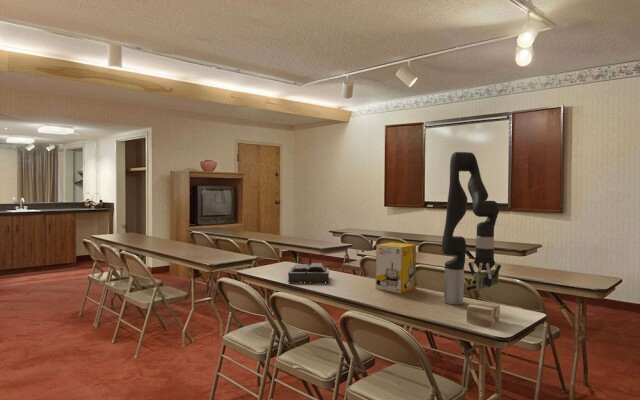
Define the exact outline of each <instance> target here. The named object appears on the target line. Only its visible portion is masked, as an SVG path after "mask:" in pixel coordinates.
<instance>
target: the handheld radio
mask: <svg viewBox="0 0 640 400" xmlns="http://www.w3.org/2000/svg"><path fill="white" fill-rule="evenodd" d="M490 270H491V275H493V274H494V272H495V270H496V268H495V269H490ZM499 272H500V271H499ZM499 272H498V274H497V276H496V278H492V285H491V286H490V287H493V286H497V285H499V275H500V274H499ZM475 273H476V272H475ZM488 278H489V277H488V272H487V271H486V270H484V271H481V273H478V272H477V273H476V274H473V275H472V285H470V286H467V287H466V290H467V291H478V290H483V289H486V288H489V287H488Z"/></svg>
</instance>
